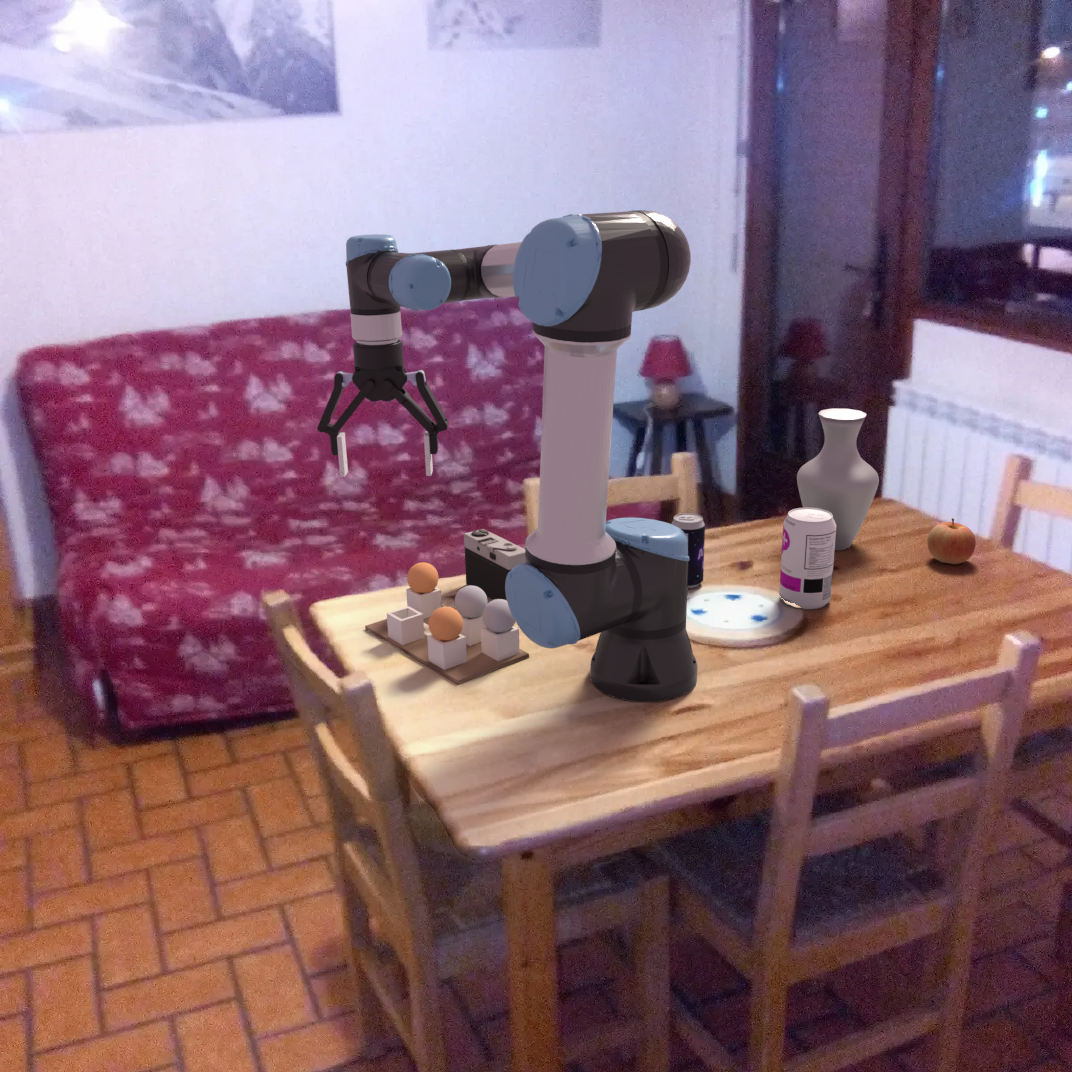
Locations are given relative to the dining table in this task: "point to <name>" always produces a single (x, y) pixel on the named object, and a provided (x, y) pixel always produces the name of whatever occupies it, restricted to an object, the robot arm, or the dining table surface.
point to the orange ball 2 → (445, 623)
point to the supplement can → (807, 557)
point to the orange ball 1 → (422, 577)
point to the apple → (951, 542)
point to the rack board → (458, 674)
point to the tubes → (448, 654)
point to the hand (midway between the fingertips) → (386, 474)
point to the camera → (490, 561)
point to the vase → (839, 475)
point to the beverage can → (693, 544)
